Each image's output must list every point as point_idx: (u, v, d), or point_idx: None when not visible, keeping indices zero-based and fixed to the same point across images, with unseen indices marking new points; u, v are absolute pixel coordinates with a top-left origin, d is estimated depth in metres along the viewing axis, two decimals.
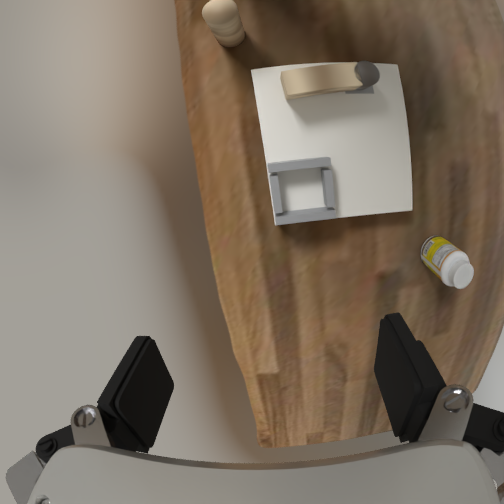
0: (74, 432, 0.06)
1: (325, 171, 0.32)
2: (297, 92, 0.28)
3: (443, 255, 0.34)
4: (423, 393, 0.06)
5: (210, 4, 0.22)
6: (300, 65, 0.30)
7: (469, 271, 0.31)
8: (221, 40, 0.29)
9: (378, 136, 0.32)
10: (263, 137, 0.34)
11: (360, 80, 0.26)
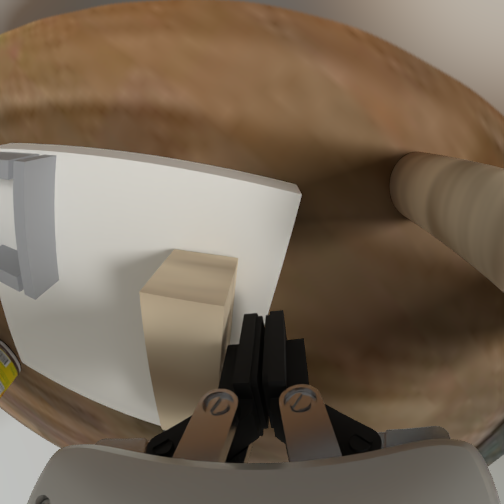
0: (197, 412, 0.07)
1: (16, 279, 0.12)
2: (145, 319, 0.10)
3: None
4: (269, 386, 0.08)
5: None
6: None
7: None
8: (423, 163, 0.11)
9: (99, 373, 0.17)
10: (104, 159, 0.12)
11: None
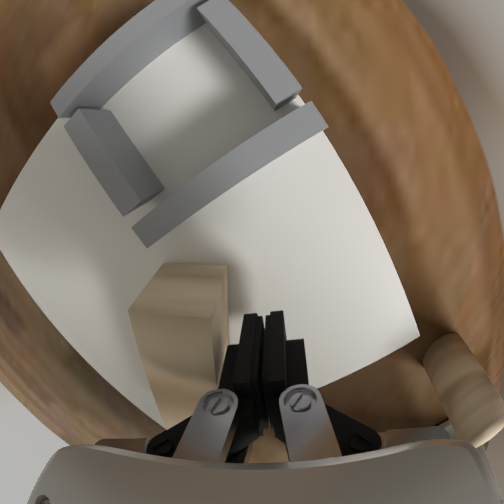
0: (197, 412, 0.07)
1: (135, 201, 0.09)
2: (137, 335, 0.10)
3: None
4: (269, 386, 0.08)
5: (495, 432, 0.10)
6: (325, 382, 0.16)
7: None
8: (465, 354, 0.15)
9: (108, 326, 0.15)
10: (357, 198, 0.11)
11: None
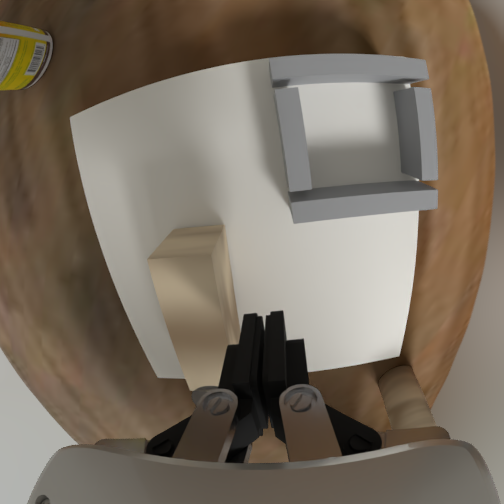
0: (197, 412, 0.07)
1: (307, 187, 0.12)
2: (155, 281, 0.13)
3: None
4: (269, 386, 0.08)
5: None
6: (323, 368, 0.20)
7: None
8: (416, 384, 0.21)
9: None
10: (414, 249, 0.16)
11: (198, 389, 0.16)
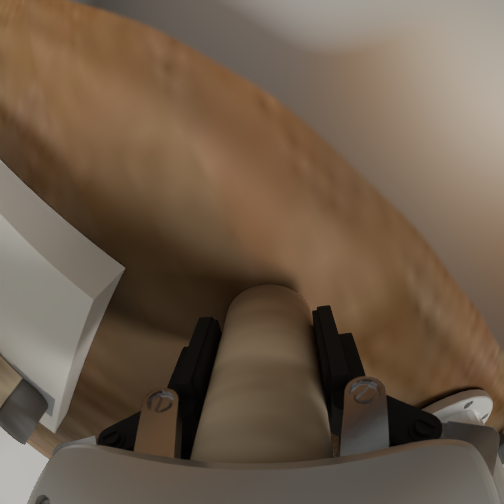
0: (144, 413, 0.07)
1: None
2: None
3: None
4: (332, 381, 0.07)
5: None
6: (65, 369, 0.12)
7: None
8: (249, 322, 0.10)
9: None
10: None
11: None
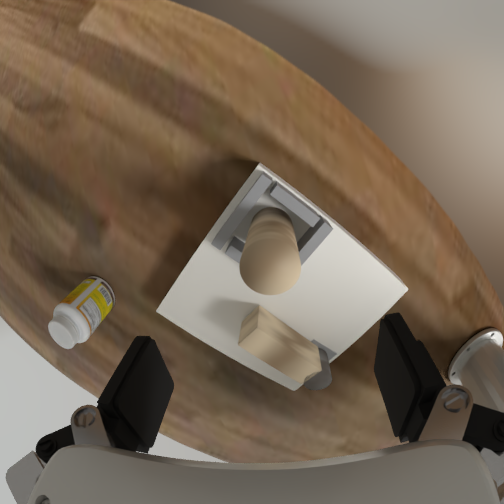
0: (75, 432, 0.06)
1: None
2: (247, 350, 0.27)
3: (91, 319, 0.29)
4: (423, 393, 0.06)
5: (294, 270, 0.18)
6: (368, 326, 0.30)
7: (63, 343, 0.26)
8: (263, 215, 0.24)
9: None
10: (353, 241, 0.27)
11: (304, 381, 0.29)
